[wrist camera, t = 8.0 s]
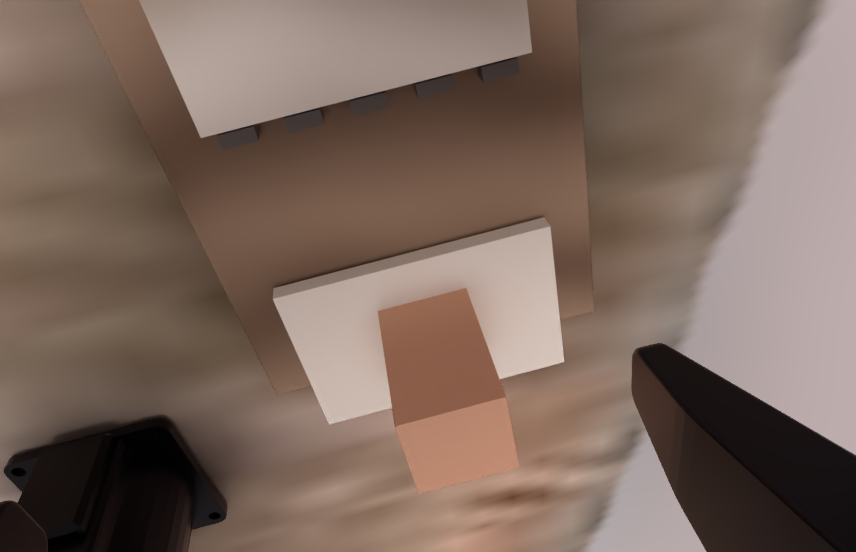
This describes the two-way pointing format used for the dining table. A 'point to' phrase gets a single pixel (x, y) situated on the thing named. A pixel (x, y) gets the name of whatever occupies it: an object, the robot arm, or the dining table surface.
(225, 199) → the ticket board
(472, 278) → the stub
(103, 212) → the dining table surface
